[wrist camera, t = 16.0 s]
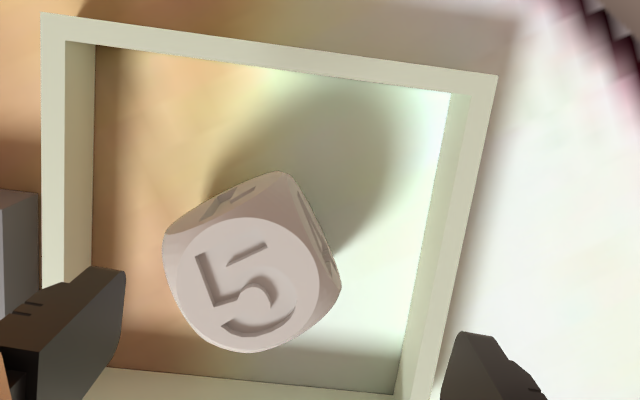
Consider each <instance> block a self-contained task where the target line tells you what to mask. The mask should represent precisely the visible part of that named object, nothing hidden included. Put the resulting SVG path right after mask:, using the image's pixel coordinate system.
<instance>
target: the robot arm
mask: <svg viewBox="0 0 640 400" xmlns="http://www.w3.org/2000/svg"><path fill="white" fill-rule="evenodd" d="M125 285H126V275H125V272H124V271H120V270H114V269H108V268H103V267H97V266H89V267H88V268H87V269H85V270H84V271H83V272H82V273H81V274H79V275H78V276H77V277H76V278H75V279H73V280H72V281H71V282H70V283H65V282H60V283H57V284H54V285H52V286H49V287H46V288H43V289H41V290H39V291H38V292H36V293H35V294H34V295H32V296H31V297H30V298H29V299H27V300H26V301H25V303H24V304H21V305H20V306H18V307H17V308H16V309H14V310H13V312H12V314H11V313H9V314H8V315H7V316H5V317H4V318H3V319H1V320H0V400H82V399H83V397H84V396H85V395H86V393H87V392H88V391H89V389H90V388H91V386H92V385H93V384H94V382H95V381H96V380H97V378H98V377H99V375H100V374H101V373H102V371H103V370H104V369H105V367H106V366H107V364H108V363H109V362H110V360H111V359H112V357H113V355H114V353H115V351H116V348H117V345H118V342H119V338H120V333H121V324H122V314H123V305H124V295H125ZM440 400H547V398H546V397H545V395H544V394H543V393H541V390H540V388H539V387H538V385H537V384H536V382H535V381H534V380H533V378H532V377H531V375H530V374H528V373H527V372H526V371H525V370H523V369H522V368H521V367H520V366H519V365H517V364H516V363H515V362H514V361H511V360H508V358H507V357H506V355H505V354H504V352H503V351H502V349H501V348H500V346H499V345H498V343H497V341H496V340H495V339H494V338H493V337H492V336H486V335H480V334H475V333H469V332H463V331H461V332H460V333H459V334H458V335H457V337H456V339H455V342H454V346H453V349H452V353H451V356H450V360H449V363H448V367H447V370H446V374H445V377H444V380H443V384H442V388H441V393H440Z"/></svg>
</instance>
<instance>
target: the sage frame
mask: <svg viewBox="0 0 640 400" xmlns="http://www.w3.org/2000/svg"><path fill="white" fill-rule="evenodd" d="M40 42H41V195H42V289H43V288H46V287H49V286H52V285H54V284H57V283H60V282H65V283H70V282H71V281H72V280H73V279H75V278H76V277H77V276H78V275H79V274H81V273H82V272H83V271H84V270H85V269H87V268H88V267H89V266H91V252H92V201H93V150H94V99H95V48H96V45H103V46H110V47H118V48H125V49H132V50H140V51H147V52H155V53H162V54H169V55H177V56H184V57H191V58H199V59H206V60H213V61H221V62H228V63H235V64H243V65H250V66H257V67H265V68H272V69H280V70H287V71H294V72H302V73H309V74H316V75H324V76H331V77H338V78H346V79H353V80H360V81H368V82H375V83H382V84H390V85H397V86H404V87H412V88H419V89H427V90H434V91H441V92H449V93H451V98H450V103H449V108H448V114H447V119H446V124H445V129H444V134H443V140H442V145H441V150H440V155H439V160H438V165H437V171H436V176H435V181H434V186H433V191H432V197H431V202H430V207H429V212H428V217H427V222H426V228H425V233H424V238H423V243H422V248H421V254H420V259H419V264H418V269H417V274H416V279H415V285H414V290H413V295H412V300H411V305H410V311H409V316H408V321H407V326H406V331H405V336H404V342H403V347H402V352H401V357H400V362H399V368H398V373H397V378H396V383H395V388H394V393H393V395H387V394H377V393H366V392H356V391H346V390H336V389H326V388H315V387H305V386H295V385H285V384H274V383H264V382H254V381H244V380H233V379H223V378H213V377H203V376H192V375H182V374H172V373H162V372H151V371H141V370H131V369H121V368H111V367H105V369H104V370H103V371H102V373H101V374H100V375H99V377H98V378H97V380H96V381H95V382H94V384H93V385H92V386H91V388H90V389H89V391H88V392H87V393H86V395H85V396H84V397H83V399H82V400H429V399H430V395H431V390H432V385H433V381H434V376H435V371H436V367H437V362H438V357H439V353H440V348H441V343H442V339H443V334H444V329H445V325H446V320H447V315H448V311H449V306H450V301H451V297H452V292H453V287H454V283H455V278H456V273H457V269H458V264H459V259H460V255H461V250H462V245H463V241H464V236H465V231H466V227H467V222H468V217H469V212H470V208H471V203H472V198H473V194H474V189H475V184H476V180H477V175H478V170H479V166H480V161H481V156H482V152H483V147H484V142H485V138H486V133H487V128H488V124H489V119H490V114H491V110H492V105H493V100H494V96H495V91H496V86H497V82H498V77H499V75H492V74H485V73H477V72H470V71H463V70H456V69H449V68H441V67H434V66H427V65H420V64H413V63H406V62H398V61H391V60H384V59H377V58H370V57H362V56H355V55H348V54H341V53H334V52H326V51H319V50H312V49H305V48H298V47H290V46H283V45H276V44H269V43H262V42H254V41H247V40H240V39H233V38H226V37H219V36H211V35H204V34H197V33H190V32H183V31H175V30H168V29H161V28H154V27H147V26H139V25H132V24H125V23H118V22H111V21H103V20H96V19H89V18H82V17H75V16H67V15H60V14H53V13H46V12H40Z"/></svg>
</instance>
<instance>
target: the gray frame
mask: <svg viewBox="0 0 640 400" xmlns="http://www.w3.org/2000/svg"><path fill="white" fill-rule="evenodd" d="M38 291H39V249H38V193H31V192H22V191H14V190H5V189H0V320H1V319H3V318H4V317H5V316H7V315H8V314H9V313H11V314H12V312H13V310H14V309H16V308H17V307H18V306H20V305H21V304H24V303H25V301H26V300H27V299H29V298H30V297H31V296H32V295H34V294H35V293H36V292H38Z"/></svg>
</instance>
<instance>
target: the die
mask: <svg viewBox="0 0 640 400" xmlns="http://www.w3.org/2000/svg"><path fill="white" fill-rule="evenodd" d="M162 259H163V265H164V270H165V274H166V278H167V281H168V284H169V287H170V289H171V292H172V294H173V297H174V299H175V301H176V303H177V305H178V307H179V309H180V311H181V312H182V314H183V316H184V317H185V319H186V320H187V322H188V323H189V324H190V326H191V327H192V328H193V330H194V331H195V332H196V333H197V334H198V335H199V336H200V337H201V338H203V339H204V340H205V341H207V342H209V343H211V344H213V345H215V346H218V347H220V348H223V349H227V350H230V351H234V352H241V353H255V352H261V351H265V350H268V349H272V348H274V347H277V346H279V345H282V344H284V343H286V342H288V341H290V340H292V339H294V338H296V337H297V336H299V335H301V334H302V333H304V332H305V331H307V330H308V329H310V328H311V327H312V326H314V325H315V324H316V323H317V322H318V321H320V320H321V319H322V318H323V317H324V316H325V315H326V314H327V313H328V312H329V310H330V309H331V308H332V307H333V305H334V304H335V302H336V300H337V298H338V296H339V293H340V291H341V288H342V285H341V280H340V276H339V272H338V269H337V266H336V263H335V261H334V258H333V255H332V253H331V250H330V248H329V245H328V243H327V241H326V238H325V236H324V234H323V232H322V229H321V227H320V225H319V223H318V221H317V219H316V217H315V215H314V213H313V211H312V209H311V207H310V205H309V203H308V201H307V199H306V198H305V196H304V194H303V192H302V191H301V189H300V187H299V186H298V184H297V183H296V181H295V180H294V179H293V177H292V176H291V175H289V174H287V173H284V172H281V171H274V172H270V173H266V174H263V175H260V176H257V177H255V178H252V179H250V180H247V181H245V182H243V183H240V184H238V185H236V186H234V187H232V188H230V189H228V190H226V191H224V192H222V193H220V194H218V195H216V196H214V197H213V198H211V199H209V200H207V201H205V202H204V203H202V204H200V205H199V206H197V207H195V208H194V209H192V210H191V211H189V212H187V213H186V214H185V215H183V216H182V217H180V218H179V219H178V220H176V221H175V222H174V223H173V224H171V225H170V226H169V227H168V229H167V230H166V232H165V235H164V239H163V243H162Z"/></svg>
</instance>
